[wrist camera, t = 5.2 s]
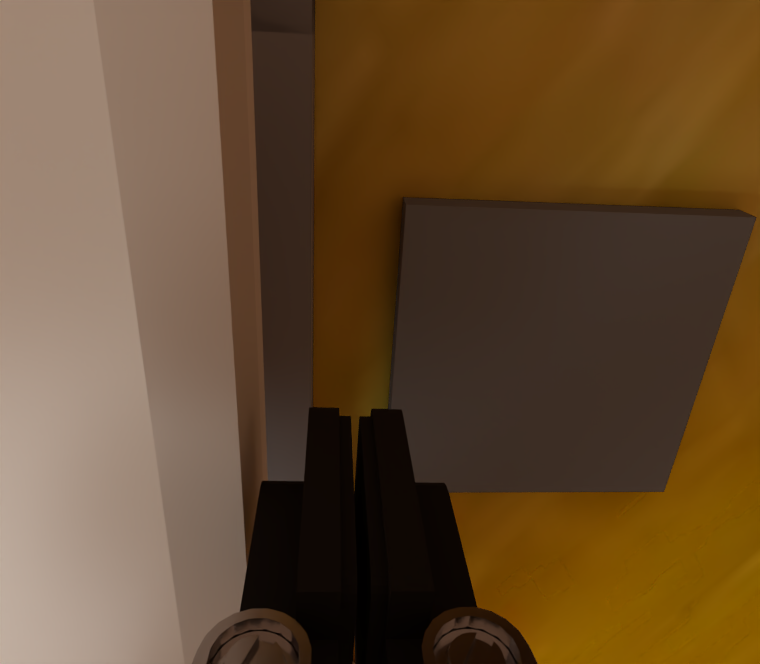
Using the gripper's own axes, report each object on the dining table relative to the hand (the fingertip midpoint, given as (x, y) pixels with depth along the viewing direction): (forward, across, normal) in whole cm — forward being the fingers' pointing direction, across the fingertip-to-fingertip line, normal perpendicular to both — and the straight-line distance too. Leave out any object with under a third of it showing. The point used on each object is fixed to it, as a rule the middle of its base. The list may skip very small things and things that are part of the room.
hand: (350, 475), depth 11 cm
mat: (+8, -7, +2) cm, 11 cm away
